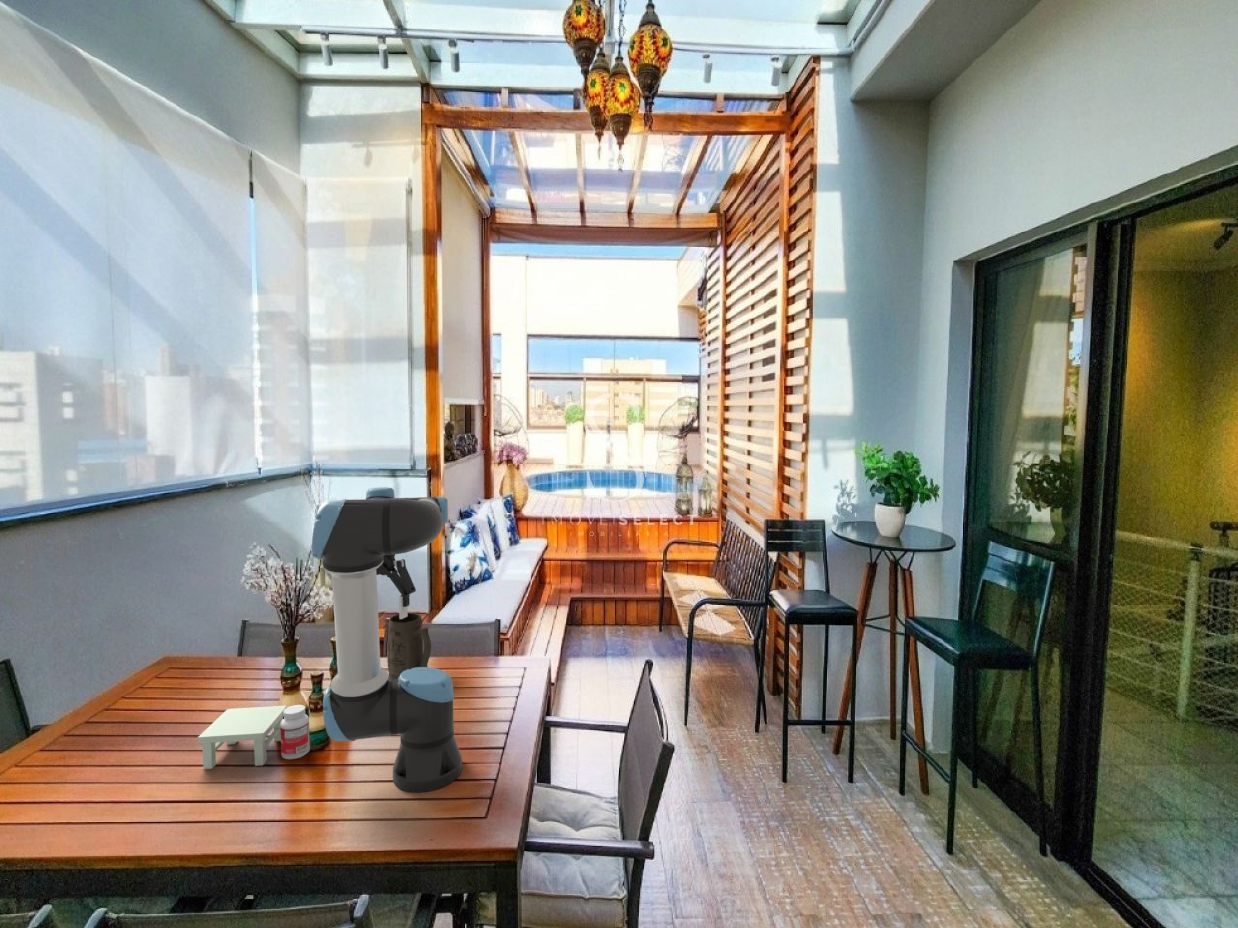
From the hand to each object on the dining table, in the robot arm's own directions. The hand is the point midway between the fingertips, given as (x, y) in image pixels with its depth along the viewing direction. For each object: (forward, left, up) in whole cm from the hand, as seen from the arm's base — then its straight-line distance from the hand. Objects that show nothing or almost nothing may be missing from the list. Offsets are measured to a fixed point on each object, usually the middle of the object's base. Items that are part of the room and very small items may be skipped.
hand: (382, 615), depth 174 cm
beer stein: (+13, -5, -25) cm, 29 cm away
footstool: (-25, +27, -25) cm, 44 cm away
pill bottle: (-27, +15, -25) cm, 39 cm away
